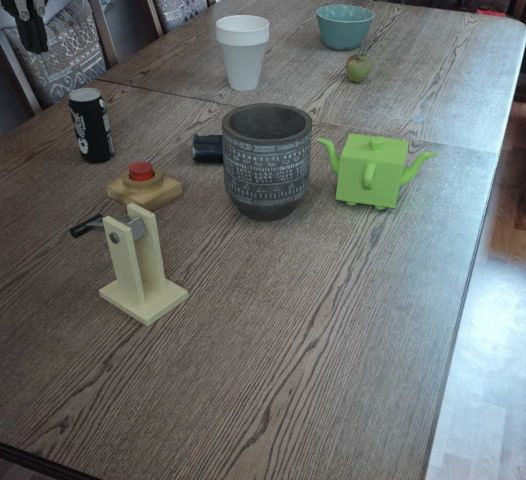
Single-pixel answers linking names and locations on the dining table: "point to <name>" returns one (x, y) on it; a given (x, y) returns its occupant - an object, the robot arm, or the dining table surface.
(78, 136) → the beverage can
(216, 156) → the electronic device
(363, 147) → the teapot
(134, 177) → the button
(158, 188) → the button block
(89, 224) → the switch lever
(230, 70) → the cup
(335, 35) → the bowl
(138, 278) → the switch bracket
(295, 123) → the planter
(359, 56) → the apple
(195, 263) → the dining table surface
